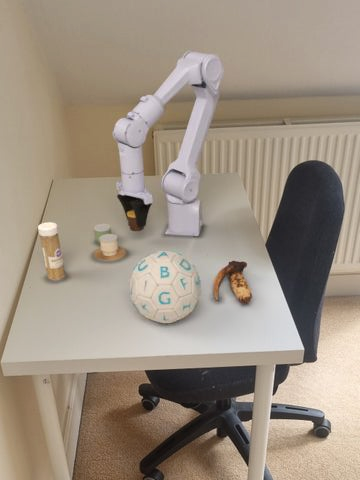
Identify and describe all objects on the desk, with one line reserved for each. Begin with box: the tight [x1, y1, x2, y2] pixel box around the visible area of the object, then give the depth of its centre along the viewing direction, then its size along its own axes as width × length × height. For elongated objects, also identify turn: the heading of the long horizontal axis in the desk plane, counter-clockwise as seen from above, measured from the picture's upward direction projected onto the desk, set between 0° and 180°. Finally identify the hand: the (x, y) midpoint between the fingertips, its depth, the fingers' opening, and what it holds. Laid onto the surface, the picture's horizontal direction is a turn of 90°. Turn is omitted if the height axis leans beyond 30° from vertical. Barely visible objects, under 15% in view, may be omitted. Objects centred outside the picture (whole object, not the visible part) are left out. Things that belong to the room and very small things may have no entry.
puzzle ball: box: [128, 250, 202, 325], centre depth 124 cm, size 15×15×15 cm
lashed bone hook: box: [212, 260, 253, 305], centre depth 136 cm, size 9×5×18 cm
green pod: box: [93, 223, 112, 244], centre depth 161 cm, size 5×5×4 cm
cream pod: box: [99, 233, 119, 256], centre depth 153 cm, size 5×5×4 cm
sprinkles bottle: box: [37, 221, 66, 281], centre depth 142 cm, size 5×5×13 cm
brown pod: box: [126, 210, 145, 232], centre depth 155 cm, size 5×5×4 cm
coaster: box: [93, 246, 127, 261], centre depth 155 cm, size 8×8×1 cm
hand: (136, 223), depth 156 cm, fingers closed on brown pod, 4 cm apart
